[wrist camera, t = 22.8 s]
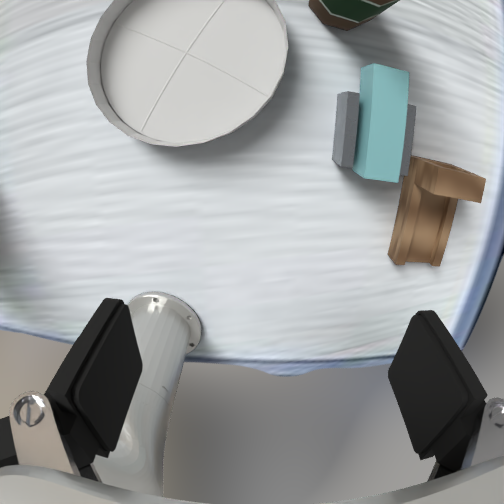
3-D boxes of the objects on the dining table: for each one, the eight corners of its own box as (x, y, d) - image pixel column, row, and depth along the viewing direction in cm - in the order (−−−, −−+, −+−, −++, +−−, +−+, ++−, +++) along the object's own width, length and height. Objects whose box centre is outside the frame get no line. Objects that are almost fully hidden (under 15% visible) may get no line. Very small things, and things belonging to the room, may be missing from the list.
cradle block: (390, 167, 34) (407, 176, 29) (330, 159, 34) (341, 166, 29) (397, 105, 30) (416, 106, 26) (335, 93, 30) (347, 91, 26)
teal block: (383, 174, 32) (398, 182, 28) (352, 170, 32) (363, 178, 28) (393, 75, 27) (409, 72, 23) (360, 67, 27) (374, 63, 23)
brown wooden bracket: (430, 256, 39) (456, 284, 32) (387, 254, 39) (410, 283, 32) (451, 164, 33) (485, 178, 26) (407, 154, 33) (438, 167, 26)
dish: (78, 99, 30) (56, 100, 26) (165, -41, 22) (154, -57, 18) (221, 176, 35) (215, 186, 31) (321, 29, 27) (331, 17, 22)
